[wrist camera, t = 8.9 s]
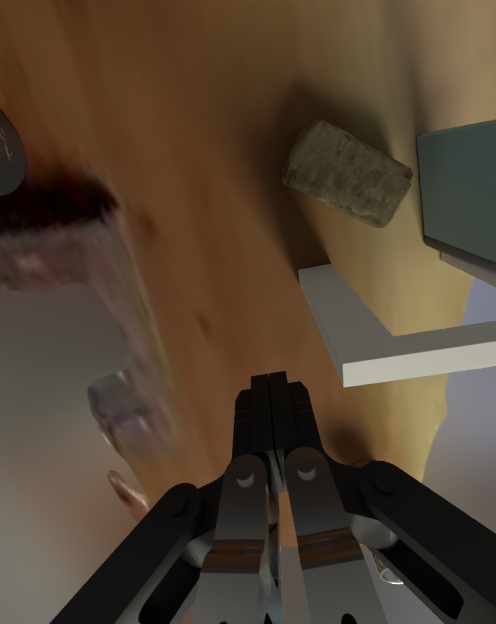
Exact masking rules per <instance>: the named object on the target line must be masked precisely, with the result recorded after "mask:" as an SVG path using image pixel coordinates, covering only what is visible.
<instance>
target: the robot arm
mask: <svg viewBox="0 0 496 624" xmlns="http://www.w3.org/2000/svg"><path fill="white" fill-rule="evenodd" d="M24 173H25V156H24V151H23V147H22V144H21V142H20V140H19V137H18V135H17V133H16V132H15V130H14V128H13V126H12V125H11V123H10V122H9V121H8V120H7V118H6V117H5V116H4V115H3V113H2V112H1V111H0V196H2V195H6V194H9V193H11V192H13V191H14V190H15V189H16V188H17V187H18V186H19V185H20V183H21V181H22V179H23V177H24ZM234 421H235V422H234V433H233V449H232V459H231V462H230V464H229V465H228V466H227V468H226V470H225V473H224V474H223V475H222V476H221V477H219V478H218V479H217V480H215V481H213V482H211V483H209V484H207V485H205V486H203V487H201V488H199V489H197V488H196V486H194V485H193V484H190V483H181V484H178V485H175V486H174V487H172V488H171V489H169V490H168V491H167V492H166V493H165V494H164V495H163V497H162V498H161V499H160V500H159V501H158V502H157V503H156V504H155V506H154V507H153V508H152V509H151V510H150V511H149V512H148V513H147V515H146V516H145V517H144V518H143V519H142V520H141V521H140V522H139V524H138V525H137V526H136V527H135V528H134V529H133V530H132V531H131V533H130V534H129V535H128V536H127V537H126V538H125V539H124V540H123V542H122V543H121V544H120V545H119V546H118V547H117V548H116V549H115V551H114V552H113V553H112V554H111V555H110V556H109V557H108V559H106V561H105V562H104V563H103V564H102V565H101V566H100V567H99V569H98V570H97V571H96V572H95V573H94V574H93V575H92V576H91V578H90V579H89V580H88V581H87V582H86V583H85V584H84V585H83V586H82V588H81V589H80V590H79V591H78V592H77V593H76V594H75V595H74V597H73V598H72V599H71V600H70V601H69V602H68V603H67V605H66V606H65V607H64V608H63V609H62V610H61V611H60V612H59V614H58V615H57V616H56V617H55V618H54V619H53V620H52V621H51V622H50V624H180V622H181V621H182V619H183V618H184V616H185V614H186V613H187V611H188V610H189V608H190V607H191V605H192V603H193V602H194V600H195V599H196V600H195V605H194V611H193V617H192V622H191V624H284V610H283V602H282V593H281V560H280V559H281V554H280V516H279V501H278V493H279V492H284V484H285V488H286V492H287V491H288V495H289V500H290V505H291V511H292V516H293V521H294V527H295V532H296V537H297V543H298V551H299V557H300V563H301V568H302V574H303V579H304V584H305V590H306V595H307V600H308V606H309V611H310V616H311V622H312V624H388V623H387V620H386V618H385V615H384V612H383V609H382V606H381V603H380V600H379V598H378V595H377V592H376V589H375V586H374V583H373V581H372V578H371V575H370V572H369V569H368V567H367V564H366V561H365V558H364V556H363V553H362V550H361V548H360V545H359V543H361V544H364V545H366V546H367V547H368V549H369V550H370V551H371V552H372V553H373V554H374V555H375V556H376V557H377V558H378V559H379V560H380V561H381V562H382V563H383V564H384V565H385V566H386V567H387V568H388V569H389V570H390V571H391V572H392V573H393V574H394V575H395V576H396V577H397V578H398V579H400V580H401V581H402V582H403V583H404V584H405V585H406V586H407V587H408V588H409V589H410V590H411V591H412V592H413V593H414V594H415V595H416V596H417V597H418V598H419V599H420V600H421V601H422V602H423V603H424V604H425V605H426V606H427V607H428V608H429V609H430V610H431V611H432V612H433V613H434V614H435V615H436V616H437V617H438V618H439V619H440V620H441V621H442V622H443V623H444V624H496V534H495V533H494V532H492V531H491V530H489V529H488V528H486V527H485V526H484V525H482V524H481V523H479V522H478V521H476V520H475V519H473V518H472V517H470V516H469V515H467V514H466V513H464V512H463V511H461V510H460V509H459V508H456V506H454V505H453V504H451V503H450V502H448V501H447V500H445V499H444V498H442V497H441V496H439V495H438V494H436V493H435V492H434V491H432V490H431V489H429V488H428V487H426V486H425V485H423V484H422V483H420V482H419V481H417V480H416V479H414V478H413V477H411V476H410V475H409V474H407V473H406V472H404V471H403V470H401V469H400V468H398V467H397V466H395V465H393V464H391V463H388V462H385V461H372V462H369V463H367V464H365V465H364V466H363V467H362V468H357V467H352V466H347V465H344V464H341V463H338V462H336V461H335V460H333V459H332V458H330V457H329V456H328V455H327V453H326V452H325V451H324V449H323V447H322V444H321V440H320V436H319V432H318V428H317V424H316V421H315V417H314V413H313V409H312V405H311V402H310V397H309V393H308V390H307V388H306V387H305V386H304V385H303V384H302V383H301V382H300V381H299V382H292V383H288V381H287V376H286V371H282V372H275V373H269V376H268V374H263V375H257V376H251V389H247V390H241V391H240V393H239V395H238V397H237V399H236V401H235V417H234ZM283 480H284V483H283Z"/></svg>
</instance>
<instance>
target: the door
mask: <svg viewBox="0 0 496 624" xmlns="http://www.w3.org/2000/svg"><path fill="white" fill-rule="evenodd" d="M417 147H418V159H419V171H420V183H421V195H422V207H423V219H424V231H425V235H426V236H427V237H426V238H425V241H424V242H425V244H426V245H427V246H429V247H432V248H434V249H436V250H438V251H441V252H443V253H445V254H447V255H450V256H452V257H454V258H456V259H459V260H461V261H463V262H465V263H468V264H470V265H472V266H474V267H477V268H479V269H481V270H484V271H486V272H488V273H490V274H493V275H495V276H496V120H491V121H485V122H480V123H475V124H470V125H465V126H459V127H454V128H449V129H444V130H439V131H433V132H429V133H427V134H424V135H422V136H419V137H417Z"/></svg>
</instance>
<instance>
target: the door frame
mask: <svg viewBox="0 0 496 624" xmlns="http://www.w3.org/2000/svg"><path fill="white" fill-rule="evenodd" d="M440 260H442V261H444V262H446V263H448V264H450V265H452V266H454V267H456V268H458V269H460V270H462V271H464V272H466V273H468V274H470V275H472V276H474V277H476V278H479V279H481V280H483V281H485V282H487V283H489V284H491V285H493V286H495V287H496V276H495V275H493V274H490V273H488V272H486V271H484V270H481V269H479V268H477V267H474V266H472V265H470V264H468V263H465V262H463V261H461V260H459V259H456V258H454V257H452V256H450V255H447V254H445V253H443V252H441V258H440ZM298 273H299V282H300V286H301V289H302V291H303V293H304V296H305V298H306V300H307V303H308V305H309V307H310V310H311V312H312V314H313V317H314V319H315V321H316V324H317V326H318V329H319V331H320V333H321V336H322V338H323V340H324V343H325V345H326V347H327V350H328V352H329V354H330V357H331V359H332V361H333V364H334V366H335V368H336V371H337V373H338V375H339V378H340V380H341V382H342V385H343V387H350V386H357V385H364V384H371V383H378V382H386V381H393V380H400V379H407V378H414V377H421V376H428V375H436V374H443V373H450V372H457V371H464V370H470V369H478V368H485V367H492V366H496V321H491V322H485V323H478V324H472V325H465V326H459V327H452V328H446V329H439V330H433V331H426V332H420V333H414V334H407V335H401V336H394V337H393V336H392V335H391V334H390V332H389V331H388V330H387V329H386V328H385V327H384V325H383V324H382V323H381V322H380V321H379V319H378V318H377V317H376V316H375V315H374V314H373V312H372V311H371V310H370V309H369V308H368V306H367V305H366V304H365V303H364V302H363V301H362V299H361V298H360V297H359V296H358V295H357V293H356V292H355V291H354V290H353V289H352V288H351V286H350V285H349V284H348V283H347V282H346V280H345V279H344V278H343V277H342V276H341V275H340V273H339V272H338V271H337V270H336V269H335V267H334V266H333V265H332V264H327V265H321V266H316V267H311V268H305V269H300V270H298Z"/></svg>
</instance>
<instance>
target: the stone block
mask: <svg viewBox="0 0 496 624" xmlns="http://www.w3.org/2000/svg"><path fill="white" fill-rule="evenodd" d="M412 176H413V173H412V170H411V169H410V168H409V167H407V166H405V165H404V164H402V163H400V162H399V161H397V160H395V159H393V158H391V157H390V156H388V155H386V154H384V153H382V152H380V151H378V150H376V149H375V148H373V147H371V146H369V145H367V144H365V143H364V142H362V141H360V140H358V139H356V138H355V137H354V136H352V135H351V134H349V133H348V132H346V131H344V130H343V129H341V128H338V127H336V126H334V125H332V124H330V123H328V122H327V121H323V120H320V119H317V120H314V121H313V123H310V124H309V125H308V126H306V127H305V128H304V129H303V130H302V131H301V132H300V133H299V134H298V136H297V138H296V141H295V143H294V144H293V146H292V148H291V150H290V152H289V155H288V158H287V160H286V162H285V165H284V167H283V169H282V182H283V185H285V186H288V187H290V188H292V189H294V190H297V191H299V192H301V193H303V194H305V195H308V196H310V197H312V198H315V199H316V200H318V201H320V202H322V203H323V204H325V205H327V206H329V207H331V208H333V209H335V210H338V211H340V212H342V213H344V214H347V215H349V216H351V217H353V218H356V219H358V220H360V221H362V222H364V223H367V224H369V225H371V226H373V227H376V228H383V227H385V226H387V225H388V223H389V222H390V221H391V220H392V218H393V216H394V214H395V213H396V212H397V210H398V209H399V208H400V206H401V203H402V201H403V199H404V198H405V196H406V195H407V193H408V191H409V189H410V187H411V183H410V181H411V179H412Z"/></svg>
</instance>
